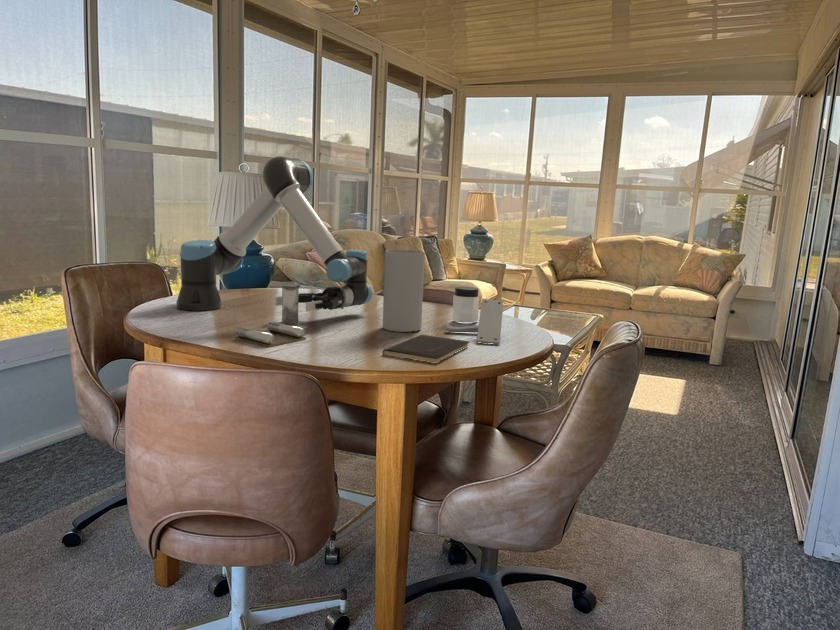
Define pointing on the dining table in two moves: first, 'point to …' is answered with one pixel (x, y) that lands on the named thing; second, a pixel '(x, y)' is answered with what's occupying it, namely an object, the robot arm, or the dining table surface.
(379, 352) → the dining table surface
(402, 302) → the cylinder vase
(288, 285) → the hinge pin
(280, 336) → the hinge leaf
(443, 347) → the hardcover book
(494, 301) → the door handle
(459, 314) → the jar
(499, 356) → the dining table surface
